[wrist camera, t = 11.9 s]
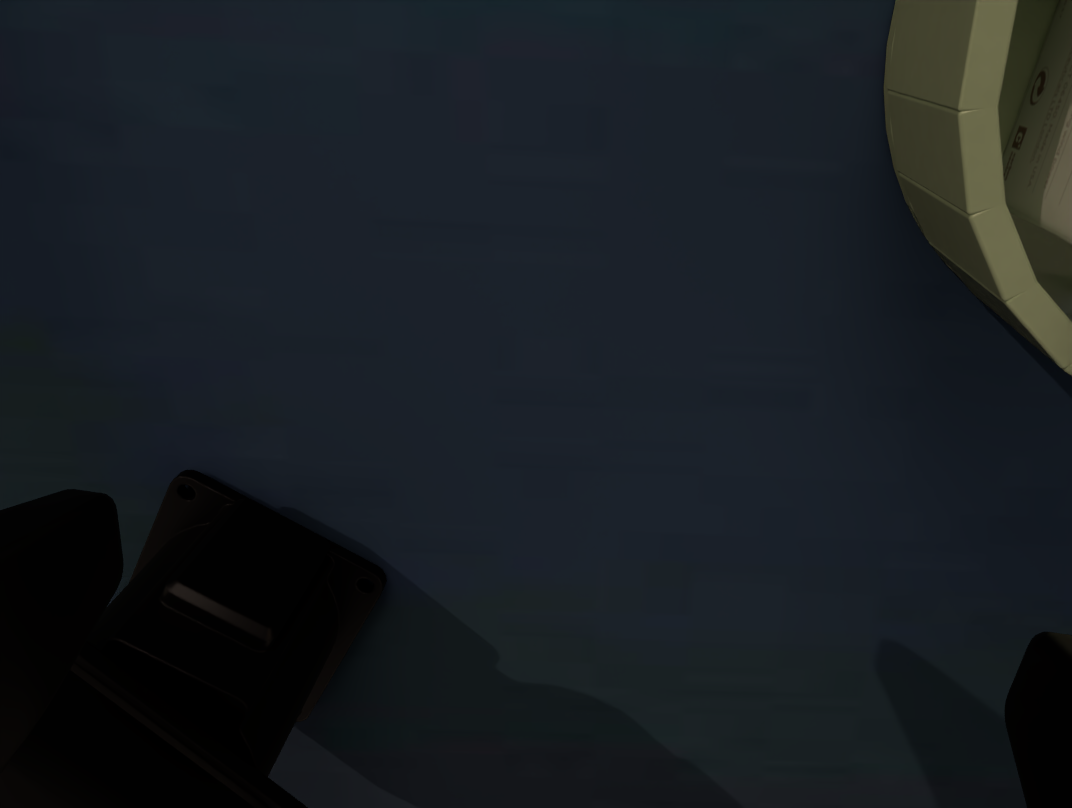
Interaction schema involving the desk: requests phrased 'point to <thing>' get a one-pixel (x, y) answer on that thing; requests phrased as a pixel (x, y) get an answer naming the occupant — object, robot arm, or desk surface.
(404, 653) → the desk surface
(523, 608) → the desk surface
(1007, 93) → the bowl
